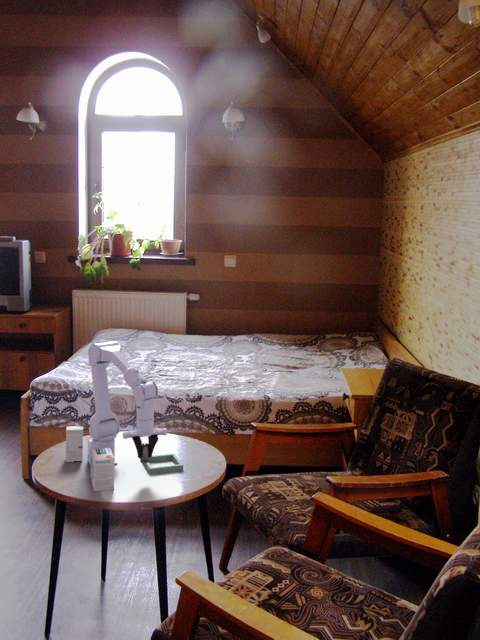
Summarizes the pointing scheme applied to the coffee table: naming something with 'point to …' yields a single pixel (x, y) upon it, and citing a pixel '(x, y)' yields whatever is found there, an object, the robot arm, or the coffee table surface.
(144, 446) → the cell
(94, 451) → the light bulb box
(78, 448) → the skincare box
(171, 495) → the coffee table surface
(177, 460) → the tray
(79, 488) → the coffee table surface
